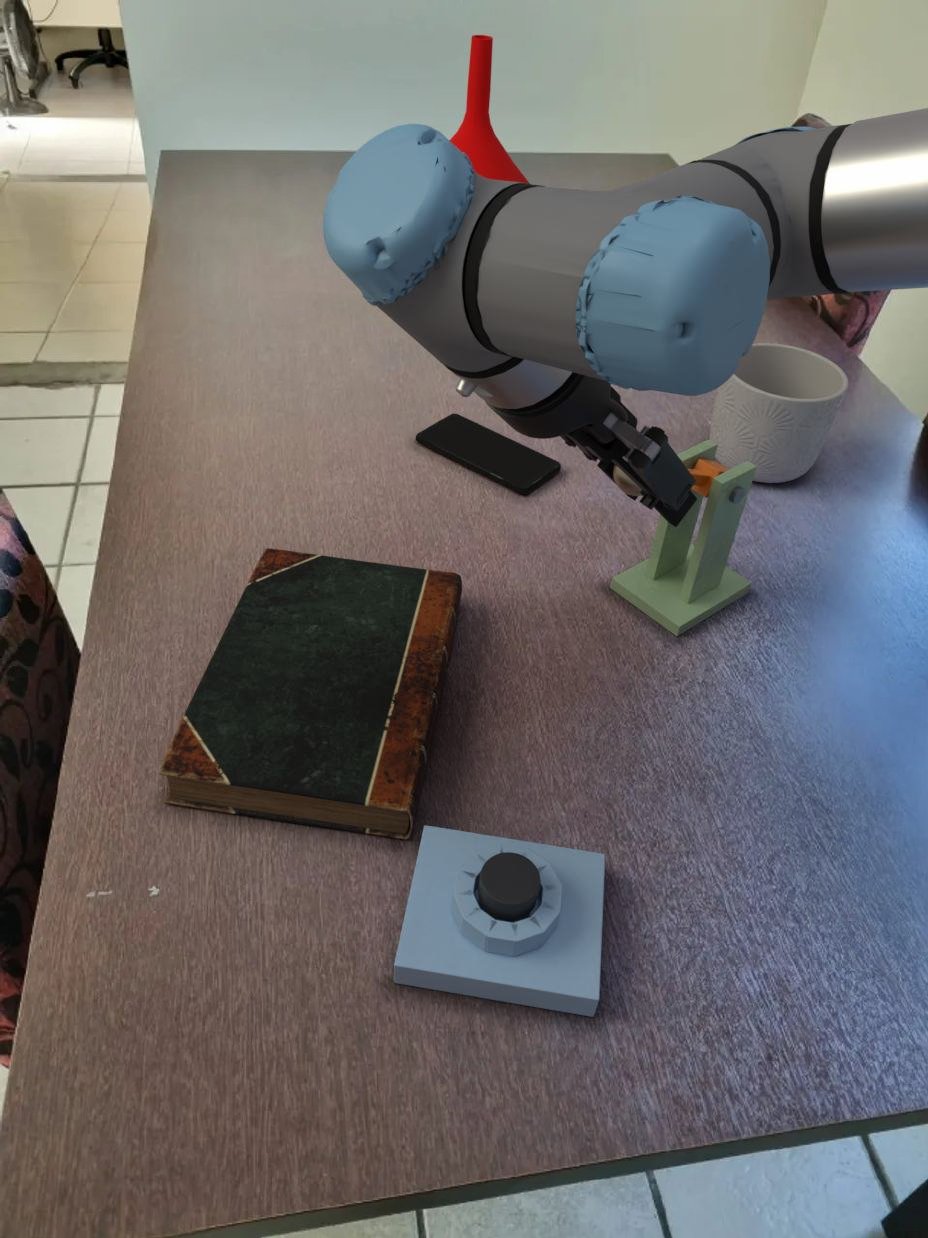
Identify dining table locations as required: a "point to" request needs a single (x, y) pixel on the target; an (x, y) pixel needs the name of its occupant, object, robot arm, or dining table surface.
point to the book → (320, 696)
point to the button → (509, 886)
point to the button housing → (504, 925)
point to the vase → (483, 120)
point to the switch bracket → (692, 554)
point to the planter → (777, 411)
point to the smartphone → (488, 453)
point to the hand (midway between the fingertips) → (661, 497)
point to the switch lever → (701, 472)
